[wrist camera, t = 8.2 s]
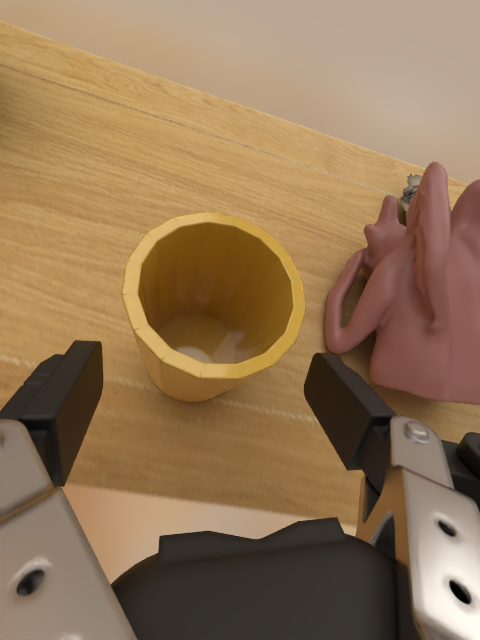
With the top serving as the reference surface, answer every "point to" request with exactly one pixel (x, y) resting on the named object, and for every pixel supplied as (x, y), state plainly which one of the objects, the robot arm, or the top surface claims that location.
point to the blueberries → (411, 192)
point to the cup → (211, 303)
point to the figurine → (418, 295)
